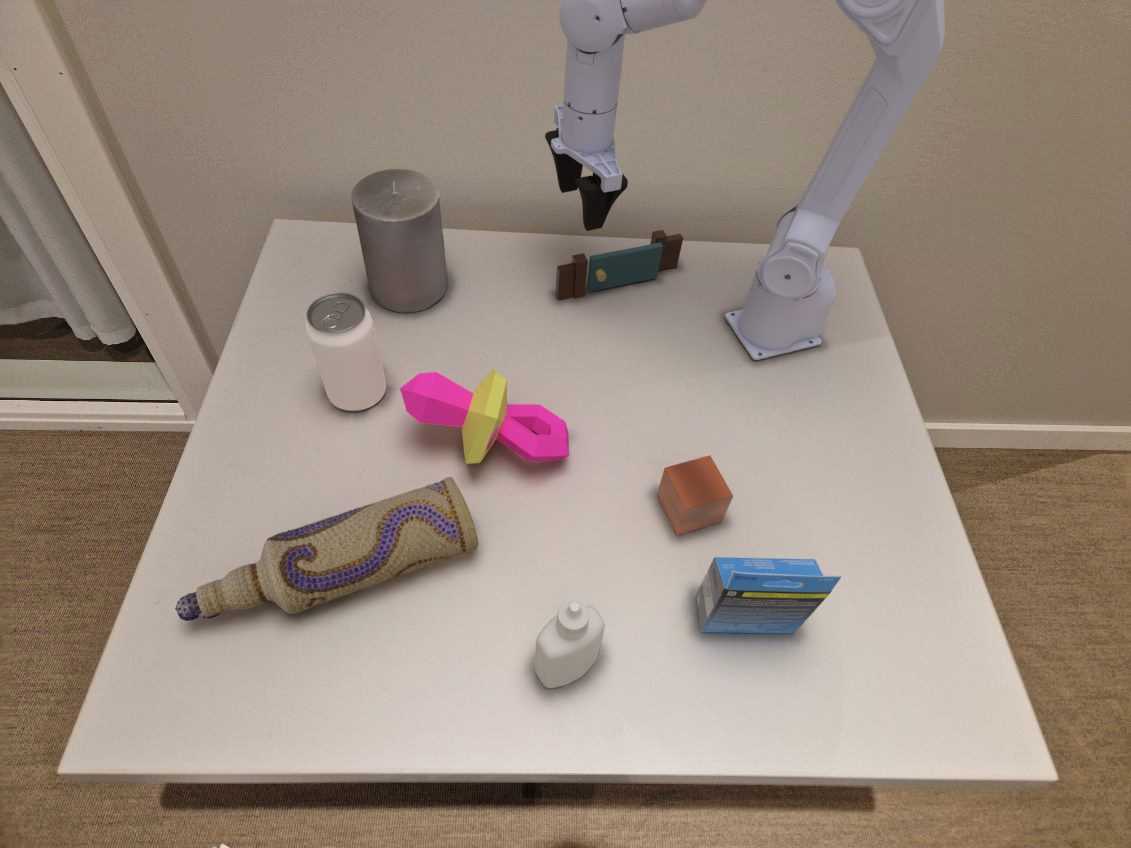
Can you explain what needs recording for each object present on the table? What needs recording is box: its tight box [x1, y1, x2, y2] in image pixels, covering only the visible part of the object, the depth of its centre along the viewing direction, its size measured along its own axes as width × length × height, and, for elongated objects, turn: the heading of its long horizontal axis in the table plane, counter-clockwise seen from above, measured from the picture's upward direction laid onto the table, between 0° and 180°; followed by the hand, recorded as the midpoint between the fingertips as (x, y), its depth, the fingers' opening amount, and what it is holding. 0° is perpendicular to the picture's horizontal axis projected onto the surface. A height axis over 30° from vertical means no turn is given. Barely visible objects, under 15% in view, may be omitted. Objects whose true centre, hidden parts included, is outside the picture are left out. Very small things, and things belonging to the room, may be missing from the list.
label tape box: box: [695, 556, 842, 634], centre depth 62 cm, size 9×4×12 cm, turn 90°
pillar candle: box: [350, 168, 448, 314], centre depth 85 cm, size 10×10×15 cm
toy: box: [399, 368, 570, 465], centre depth 74 cm, size 10×18×10 cm, turn 82°
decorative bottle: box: [174, 476, 479, 622], centre depth 65 cm, size 26×8×7 cm, turn 113°
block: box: [656, 455, 734, 536], centre depth 72 cm, size 5×5×5 cm
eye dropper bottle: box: [534, 599, 606, 689], centre depth 59 cm, size 4×6×12 cm
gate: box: [555, 229, 684, 301], centre depth 92 cm, size 2×17×6 cm, turn 117°
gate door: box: [586, 243, 663, 293], centre depth 91 cm, size 2×10×5 cm, turn 110°
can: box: [305, 291, 387, 412], centre depth 76 cm, size 6×6×12 cm
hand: (580, 208), depth 87 cm, fingers open, 7 cm apart
